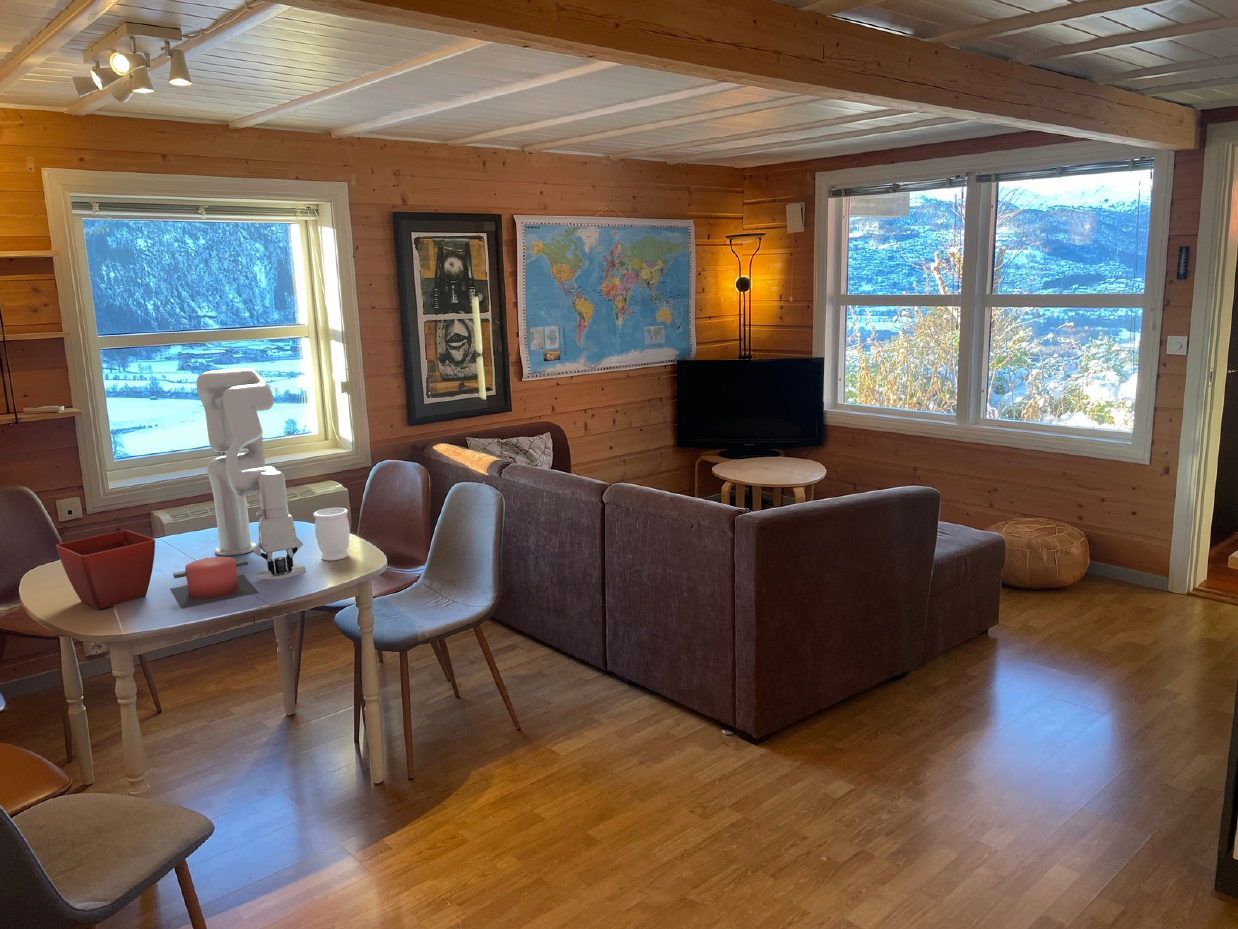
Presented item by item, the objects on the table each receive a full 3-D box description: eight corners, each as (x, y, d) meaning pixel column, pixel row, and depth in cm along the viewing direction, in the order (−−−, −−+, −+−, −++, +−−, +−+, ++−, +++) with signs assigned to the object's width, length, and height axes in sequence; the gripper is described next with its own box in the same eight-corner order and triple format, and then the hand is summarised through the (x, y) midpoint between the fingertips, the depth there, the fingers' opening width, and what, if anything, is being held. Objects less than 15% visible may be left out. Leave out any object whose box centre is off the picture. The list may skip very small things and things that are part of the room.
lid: (251, 573, 275) (250, 557, 274) (298, 564, 282) (297, 548, 281) (262, 585, 263) (260, 569, 262) (311, 575, 271) (309, 559, 270)
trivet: (170, 590, 260) (169, 588, 259) (243, 576, 270) (243, 574, 270) (181, 610, 243) (181, 608, 243) (259, 594, 254) (258, 592, 254)
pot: (173, 591, 257) (169, 564, 255) (244, 577, 267) (241, 552, 266) (180, 604, 246) (177, 576, 245) (254, 589, 257) (251, 562, 255)
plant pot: (134, 583, 267) (126, 528, 263) (164, 596, 255) (156, 539, 251) (63, 602, 252) (54, 544, 249) (91, 617, 240) (82, 556, 237)
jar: (345, 562, 282) (341, 515, 279) (313, 562, 282) (308, 516, 279) (356, 551, 292) (352, 506, 289) (324, 552, 293) (320, 507, 289)
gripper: (247, 519, 261) (254, 580, 265) (307, 510, 270) (312, 568, 274) (242, 514, 267) (248, 573, 271) (300, 505, 276) (306, 562, 280)
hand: (281, 570), depth 272 cm, fingers open, 4 cm apart
